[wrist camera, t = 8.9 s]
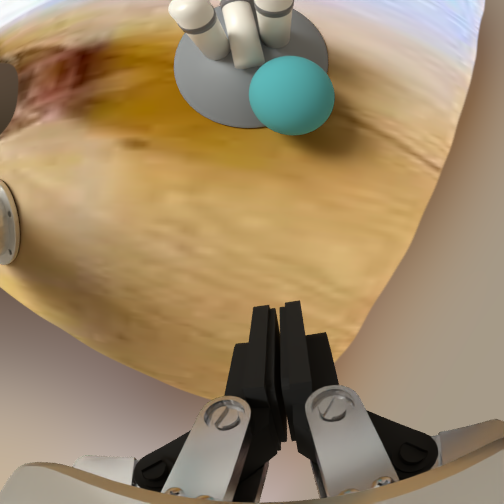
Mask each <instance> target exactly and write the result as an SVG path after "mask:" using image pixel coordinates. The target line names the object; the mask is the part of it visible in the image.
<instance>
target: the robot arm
mask: <svg viewBox="0 0 504 504" xmlns="http://www.w3.org/2000/svg"><path fill="white" fill-rule="evenodd" d="M19 243H20V228H19V219H18V214H17V209H16V206H15V203H14V200H13V197H12V195H11V193H10V191H9V189H8V187H7V186H6V185H5V183H4V182H3V181H1V180H0V264H1V265H7V264H9V263H11V262H12V261H13V260H14V259H15V258H16V256H17V253H18V250H19ZM287 419H288V424H289V429H290V434H291V440H292V441H296V443H297V449H298V452H299V453H301V454H302V455H304V456H305V457H307V458H309V459H310V463H311V467H312V470H313V474H314V478H315V482H316V486H317V490H318V494H319V497H320V499H312V500H303V501H292V502H291V501H290V502H269V503H259V501H260V497H261V494H262V490H263V486H264V482H265V479H266V474H267V470H268V466H269V460H270V459H271V458H272V457H274V456H275V455H276V454H277V451H279V450H281V442H286V441H287ZM0 504H504V421H501V420H498V419H495V420H489V421H485V422H482V423H478V424H474V425H471V426H466V427H462V428H458V429H453V430H448V431H443V432H439V434H438V435H436V436H429V435H427V434H425V433H422V432H420V431H417V430H414V429H411V428H409V427H406V426H404V425H401V424H398V423H396V422H393V421H391V420H388V419H386V418H384V417H381V416H379V415H376V414H374V413H372V412H369V411H367V410H366V409H365V408H364V405H363V403H362V402H361V399H360V398H359V396H358V395H357V393H356V392H355V391H354V390H352V389H350V388H348V387H345V386H342V385H341V386H340V385H339V383H338V379H337V374H336V370H335V366H334V362H333V357H332V353H331V349H330V345H329V341H328V337H327V334H326V332H324V333H318V334H312V335H305V330H304V324H303V317H302V311H301V304H300V301H293V302H286V303H285V307H280V332H279V326H278V320H277V315H276V310H275V308H272V309H270V307H269V305H265V306H257V307H254V308H253V314H252V322H251V329H250V336H249V343H238V344H236V345H235V347H234V352H233V356H232V361H231V366H230V371H229V376H228V381H227V386H226V391H225V395H224V396H222V397H218V398H215V399H213V400H211V401H210V402H208V403H207V404H206V405H205V406H204V407H203V408H202V409H201V411H200V412H199V415H198V417H197V419H196V421H195V423H194V425H193V427H192V429H191V430H190V431H189V432H187V433H186V434H184V435H182V436H181V437H179V438H177V439H175V440H173V441H172V442H170V443H168V444H166V445H165V446H163V447H161V448H159V449H157V450H155V451H154V452H152V453H150V454H148V455H146V456H145V457H143V458H142V459H140V460H137V459H136V458H135V457H107V456H92V455H86V456H82V457H80V458H79V459H77V460H76V461H75V462H74V465H73V467H70V466H66V465H63V464H57V463H48V462H34V463H27V464H24V465H22V466H20V467H18V468H17V469H16V470H15V471H14V473H13V474H12V475H11V476H10V478H9V479H8V481H7V482H6V484H5V485H4V487H3V489H2V490H1V492H0Z"/></svg>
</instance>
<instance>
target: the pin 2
mask: <svg viewBox="0 0 504 504" xmlns="http://www.w3.org/2000/svg"><path fill="white" fill-rule="evenodd" d="M253 1H254V6H255V9H256V13H257V18H258V24H259V29H260V35H261V40H262V42H263V43H264V44H265V45H266V46H267V47H270V48H282V47H284V46H286V45H287V44H288V42H289V40H290V31H291V19H292V9H293V5H294V0H253Z"/></svg>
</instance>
